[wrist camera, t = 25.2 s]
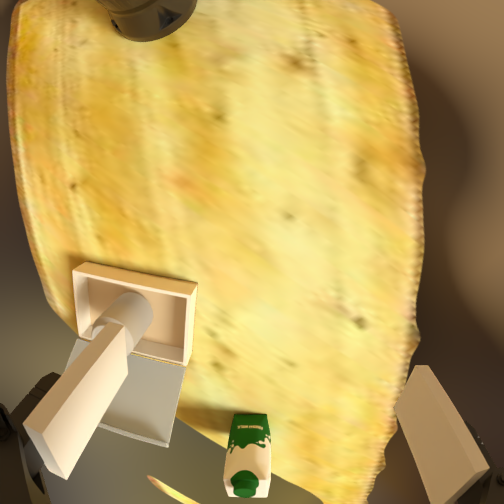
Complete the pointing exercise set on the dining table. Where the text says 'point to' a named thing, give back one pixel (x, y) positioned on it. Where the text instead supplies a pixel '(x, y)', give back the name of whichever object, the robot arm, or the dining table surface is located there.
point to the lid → (142, 399)
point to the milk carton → (248, 457)
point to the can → (127, 318)
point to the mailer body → (158, 296)
